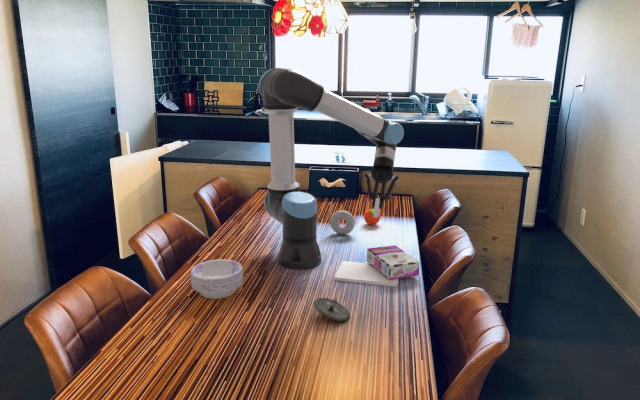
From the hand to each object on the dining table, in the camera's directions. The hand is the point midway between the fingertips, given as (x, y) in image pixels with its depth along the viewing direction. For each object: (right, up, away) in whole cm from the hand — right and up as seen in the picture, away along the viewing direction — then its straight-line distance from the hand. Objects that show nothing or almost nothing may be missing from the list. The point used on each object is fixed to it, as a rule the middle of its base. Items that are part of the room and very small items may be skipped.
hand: (375, 215), depth 180 cm
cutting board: (-4, -19, -14) cm, 24 cm away
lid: (-17, -27, -41) cm, 52 cm away
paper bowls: (-51, -22, -28) cm, 62 cm away
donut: (-11, -8, +24) cm, 27 cm away
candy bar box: (+1, -13, -5) cm, 14 cm away
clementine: (+2, -5, +36) cm, 36 cm away
